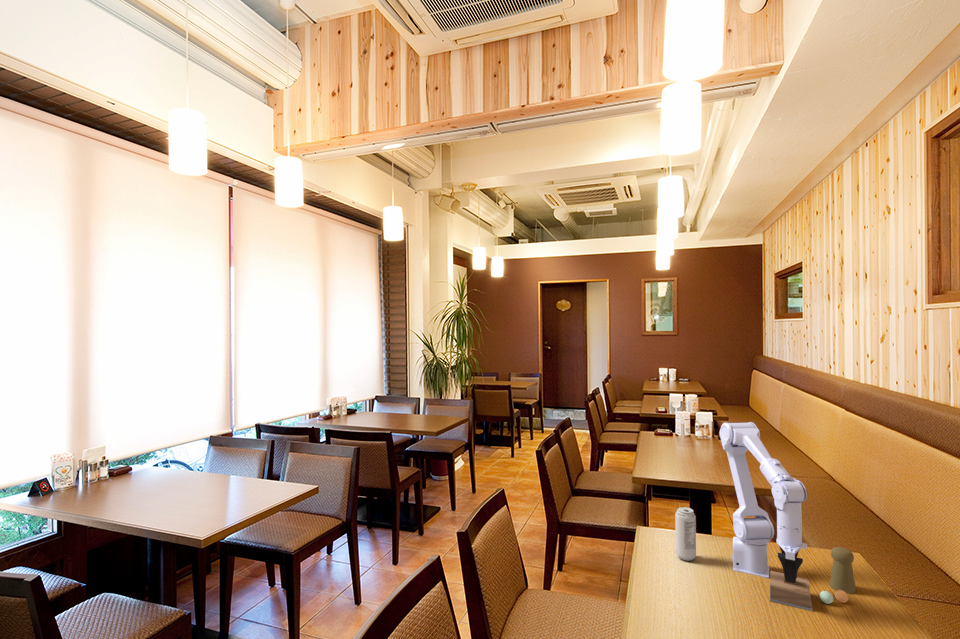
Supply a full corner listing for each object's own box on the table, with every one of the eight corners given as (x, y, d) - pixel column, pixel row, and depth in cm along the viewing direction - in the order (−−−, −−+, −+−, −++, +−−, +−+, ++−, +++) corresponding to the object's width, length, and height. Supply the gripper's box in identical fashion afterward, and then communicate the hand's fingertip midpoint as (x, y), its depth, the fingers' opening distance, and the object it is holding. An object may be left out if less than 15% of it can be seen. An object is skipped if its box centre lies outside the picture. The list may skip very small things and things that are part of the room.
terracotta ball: (835, 603, 131) (834, 591, 131) (833, 597, 134) (833, 586, 134) (849, 606, 129) (849, 594, 129) (847, 600, 132) (847, 589, 132)
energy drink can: (687, 551, 161) (687, 505, 161) (700, 559, 155) (699, 512, 156) (671, 553, 160) (671, 507, 160) (684, 562, 154) (683, 514, 154)
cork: (861, 595, 135) (860, 554, 135) (836, 592, 136) (835, 552, 136) (849, 583, 141) (848, 545, 141) (825, 581, 142) (824, 543, 142)
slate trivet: (769, 601, 132) (769, 599, 132) (770, 584, 140) (770, 583, 140) (812, 611, 127) (812, 609, 127) (810, 594, 135) (810, 592, 135)
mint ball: (820, 604, 131) (819, 592, 131) (819, 598, 133) (818, 587, 133) (833, 607, 129) (833, 595, 129) (832, 601, 132) (832, 590, 132)
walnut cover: (810, 608, 128) (810, 582, 128) (770, 598, 132) (770, 573, 132) (808, 592, 135) (808, 567, 135) (770, 583, 140) (770, 560, 140)
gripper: (808, 538, 126) (809, 592, 126) (805, 519, 138) (806, 567, 138) (776, 532, 129) (776, 584, 129) (776, 514, 142) (776, 561, 142)
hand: (789, 575), depth 134 cm, fingers open, 7 cm apart
